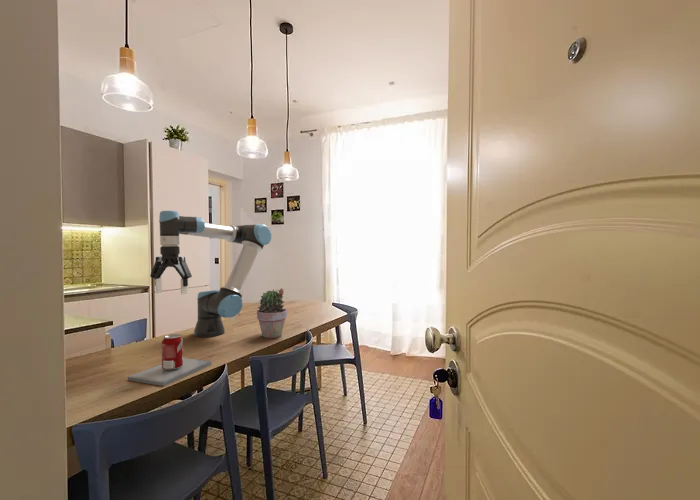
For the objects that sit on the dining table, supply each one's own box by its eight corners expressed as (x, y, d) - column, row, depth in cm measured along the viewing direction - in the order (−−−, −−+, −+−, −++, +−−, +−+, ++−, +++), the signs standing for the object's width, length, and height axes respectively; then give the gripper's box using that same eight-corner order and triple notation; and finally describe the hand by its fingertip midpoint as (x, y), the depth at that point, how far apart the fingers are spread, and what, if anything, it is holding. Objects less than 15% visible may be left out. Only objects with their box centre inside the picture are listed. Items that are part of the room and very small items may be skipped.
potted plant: (257, 331, 184) (257, 286, 184) (292, 331, 183) (292, 286, 183) (245, 339, 166) (246, 289, 166) (284, 340, 165) (284, 290, 165)
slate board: (179, 360, 136) (179, 357, 136) (211, 364, 131) (211, 361, 131) (128, 380, 115) (128, 376, 115) (164, 386, 110) (164, 382, 110)
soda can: (173, 372, 119) (173, 338, 119) (157, 370, 120) (157, 337, 120) (186, 365, 125) (186, 333, 125) (171, 364, 127) (171, 333, 127)
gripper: (140, 246, 147) (141, 294, 148) (187, 245, 141) (188, 295, 141) (154, 246, 155) (155, 291, 155) (199, 245, 148) (200, 292, 149)
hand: (171, 293), depth 148 cm, fingers open, 13 cm apart
